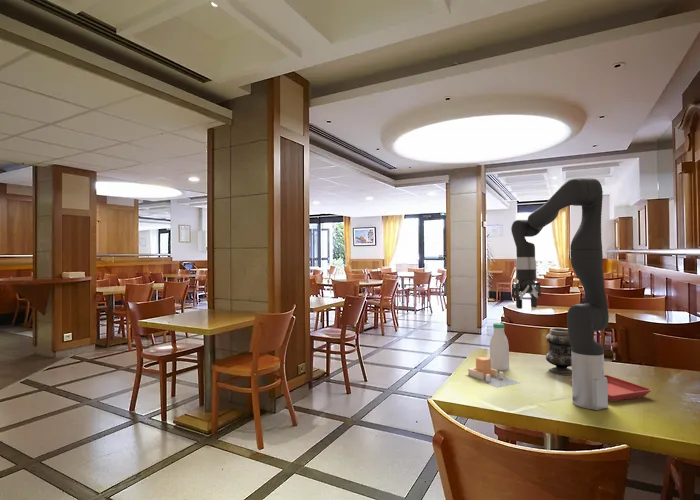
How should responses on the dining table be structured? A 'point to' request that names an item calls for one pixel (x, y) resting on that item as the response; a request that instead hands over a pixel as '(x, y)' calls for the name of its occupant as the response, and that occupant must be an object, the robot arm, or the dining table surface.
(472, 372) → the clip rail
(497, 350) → the milk bottle
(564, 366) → the carved stone vase
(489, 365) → the orange rectangular block
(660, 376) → the dining table surface
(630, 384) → the plant saucer
